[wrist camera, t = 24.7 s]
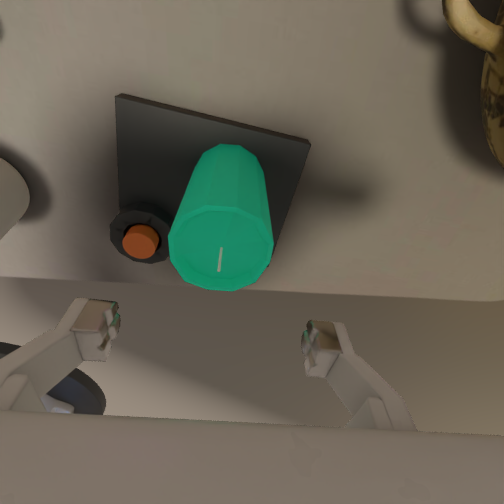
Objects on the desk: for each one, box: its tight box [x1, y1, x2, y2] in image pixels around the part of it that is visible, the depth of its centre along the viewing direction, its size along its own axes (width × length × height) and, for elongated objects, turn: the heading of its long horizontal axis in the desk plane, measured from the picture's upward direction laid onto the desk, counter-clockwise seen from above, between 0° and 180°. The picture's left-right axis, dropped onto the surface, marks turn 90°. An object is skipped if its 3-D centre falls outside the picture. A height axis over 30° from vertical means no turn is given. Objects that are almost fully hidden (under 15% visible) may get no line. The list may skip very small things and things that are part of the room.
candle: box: [168, 144, 274, 291], centre depth 20 cm, size 6×6×12 cm
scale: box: [110, 94, 311, 267], centre depth 26 cm, size 14×15×3 cm
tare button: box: [122, 224, 159, 259], centre depth 26 cm, size 3×3×2 cm
